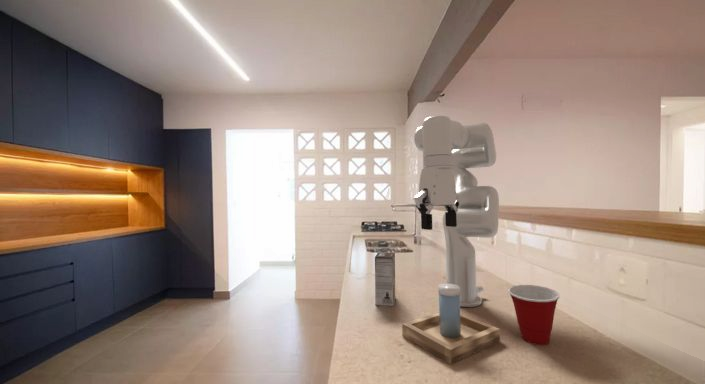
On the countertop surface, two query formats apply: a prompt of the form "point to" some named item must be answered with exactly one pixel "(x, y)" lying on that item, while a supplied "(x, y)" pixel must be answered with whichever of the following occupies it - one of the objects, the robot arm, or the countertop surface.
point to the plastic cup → (534, 311)
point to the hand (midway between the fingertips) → (439, 227)
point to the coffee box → (385, 279)
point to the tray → (451, 349)
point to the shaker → (449, 310)
